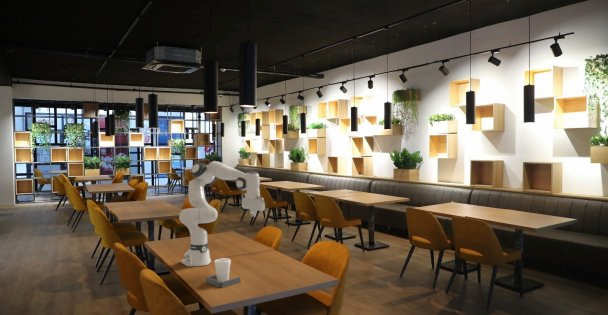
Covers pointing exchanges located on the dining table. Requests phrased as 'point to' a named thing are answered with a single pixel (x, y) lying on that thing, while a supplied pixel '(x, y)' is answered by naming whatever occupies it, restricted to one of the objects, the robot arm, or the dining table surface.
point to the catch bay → (214, 282)
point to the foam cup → (222, 269)
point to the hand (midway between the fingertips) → (253, 216)
